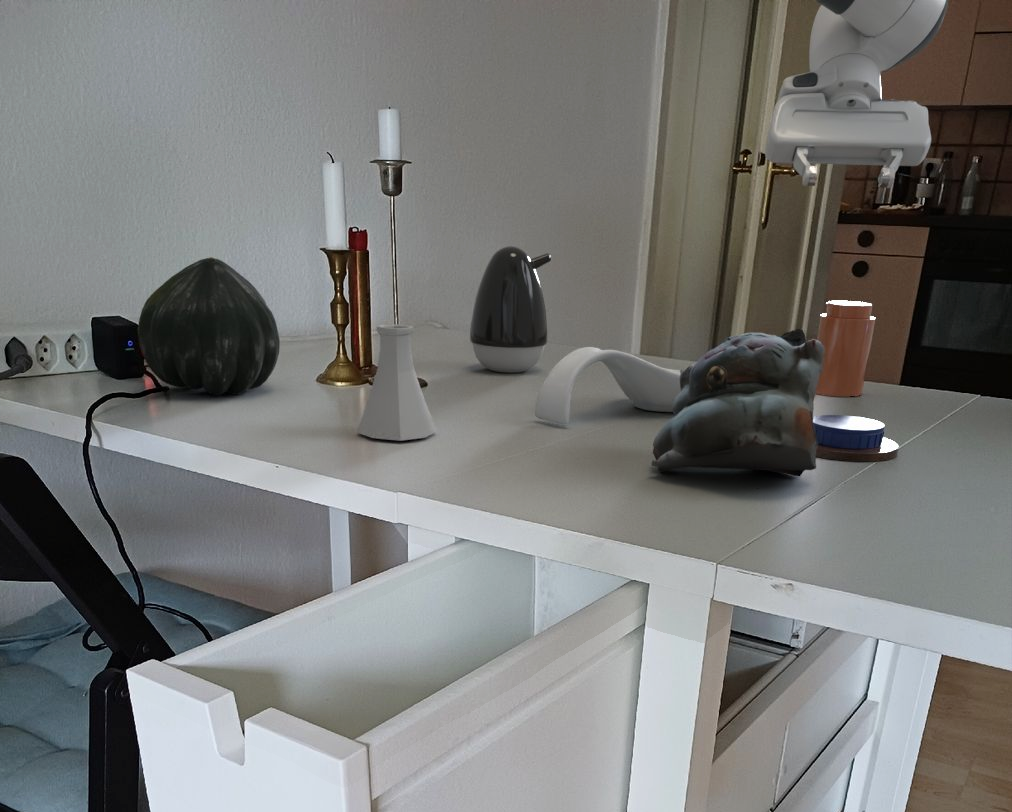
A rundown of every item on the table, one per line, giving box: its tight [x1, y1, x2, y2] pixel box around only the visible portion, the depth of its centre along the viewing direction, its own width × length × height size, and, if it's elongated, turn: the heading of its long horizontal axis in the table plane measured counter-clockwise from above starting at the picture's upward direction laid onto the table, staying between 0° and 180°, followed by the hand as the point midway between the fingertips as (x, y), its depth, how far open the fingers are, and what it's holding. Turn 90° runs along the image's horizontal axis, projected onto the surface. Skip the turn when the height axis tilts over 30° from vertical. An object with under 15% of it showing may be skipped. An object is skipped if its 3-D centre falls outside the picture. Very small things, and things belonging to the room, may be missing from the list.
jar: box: [815, 300, 876, 398], centre depth 124 cm, size 6×6×10 cm
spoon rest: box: [534, 346, 681, 425], centre depth 109 cm, size 24×12×7 cm, turn 131°
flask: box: [356, 323, 437, 442], centre depth 96 cm, size 7×7×10 cm
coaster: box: [815, 437, 899, 463], centre depth 98 cm, size 10×10×1 cm
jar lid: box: [813, 414, 885, 449], centre depth 97 cm, size 7×7×2 cm
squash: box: [137, 257, 281, 396], centre depth 113 cm, size 14×15×15 cm
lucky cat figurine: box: [651, 328, 825, 477], centre depth 87 cm, size 15×12×14 cm
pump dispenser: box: [469, 245, 552, 374], centre depth 132 cm, size 10×10×15 cm
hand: (848, 183), depth 127 cm, fingers open, 8 cm apart
